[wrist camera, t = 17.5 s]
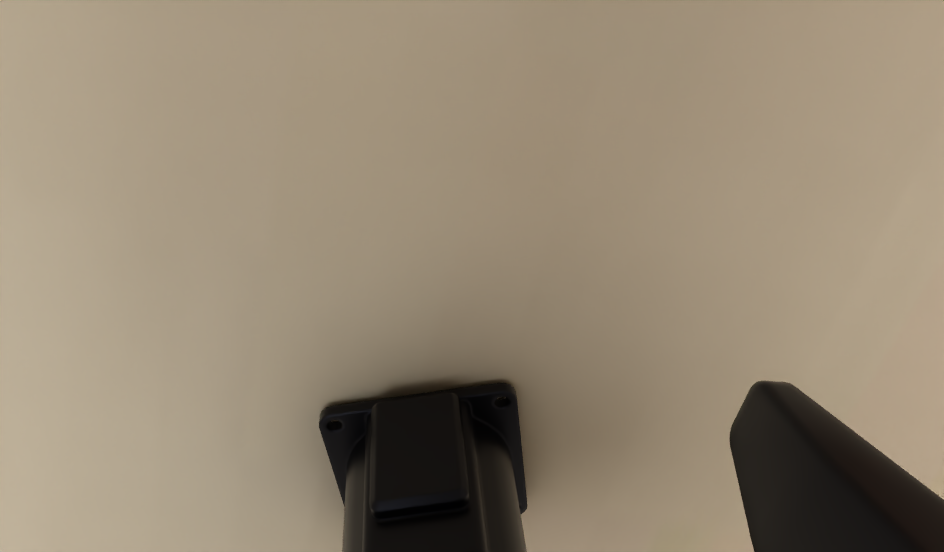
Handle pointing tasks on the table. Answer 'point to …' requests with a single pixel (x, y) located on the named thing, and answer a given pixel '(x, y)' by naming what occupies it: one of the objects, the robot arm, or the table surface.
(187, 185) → the table surface
